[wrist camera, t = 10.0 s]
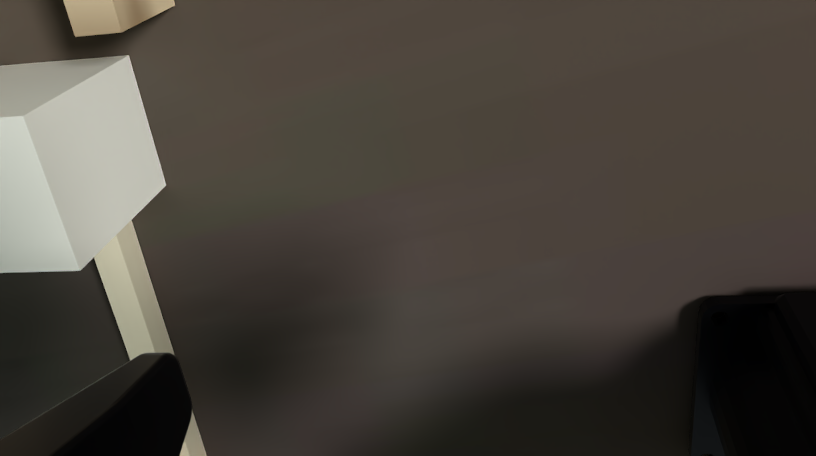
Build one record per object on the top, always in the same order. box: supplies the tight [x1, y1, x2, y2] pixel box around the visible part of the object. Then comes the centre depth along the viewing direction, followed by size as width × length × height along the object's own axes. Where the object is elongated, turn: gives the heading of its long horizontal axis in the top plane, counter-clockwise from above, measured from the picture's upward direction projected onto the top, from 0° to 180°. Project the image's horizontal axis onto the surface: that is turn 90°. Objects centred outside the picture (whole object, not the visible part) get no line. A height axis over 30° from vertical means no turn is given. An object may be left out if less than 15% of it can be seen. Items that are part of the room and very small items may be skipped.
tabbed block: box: [0, 55, 207, 456], centre depth 23 cm, size 18×4×5 cm, turn 7°
